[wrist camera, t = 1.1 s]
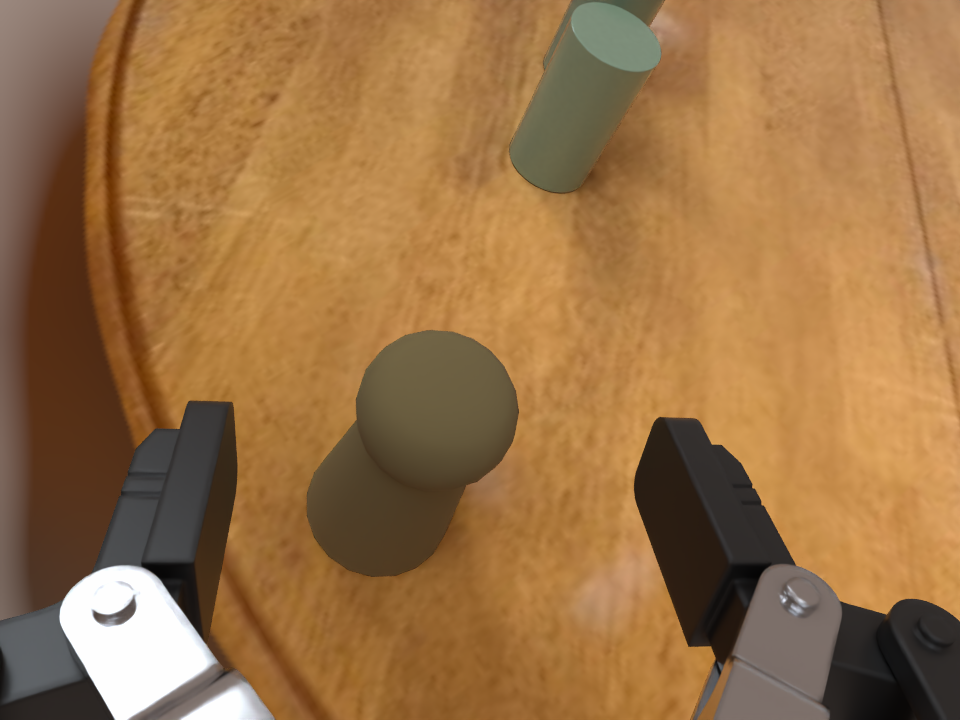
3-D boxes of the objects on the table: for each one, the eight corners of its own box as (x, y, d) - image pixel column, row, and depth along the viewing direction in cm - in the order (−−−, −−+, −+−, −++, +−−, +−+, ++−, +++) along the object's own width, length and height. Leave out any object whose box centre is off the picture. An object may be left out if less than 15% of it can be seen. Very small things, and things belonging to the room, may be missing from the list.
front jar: (499, 169, 44) (561, 41, 37) (520, 117, 47) (582, -13, 40) (577, 205, 45) (654, 86, 38) (593, 151, 48) (667, 30, 40)
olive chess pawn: (350, 605, 30) (420, 515, 21) (280, 473, 32) (316, 338, 23) (474, 533, 33) (581, 428, 24) (404, 417, 35) (479, 277, 26)
